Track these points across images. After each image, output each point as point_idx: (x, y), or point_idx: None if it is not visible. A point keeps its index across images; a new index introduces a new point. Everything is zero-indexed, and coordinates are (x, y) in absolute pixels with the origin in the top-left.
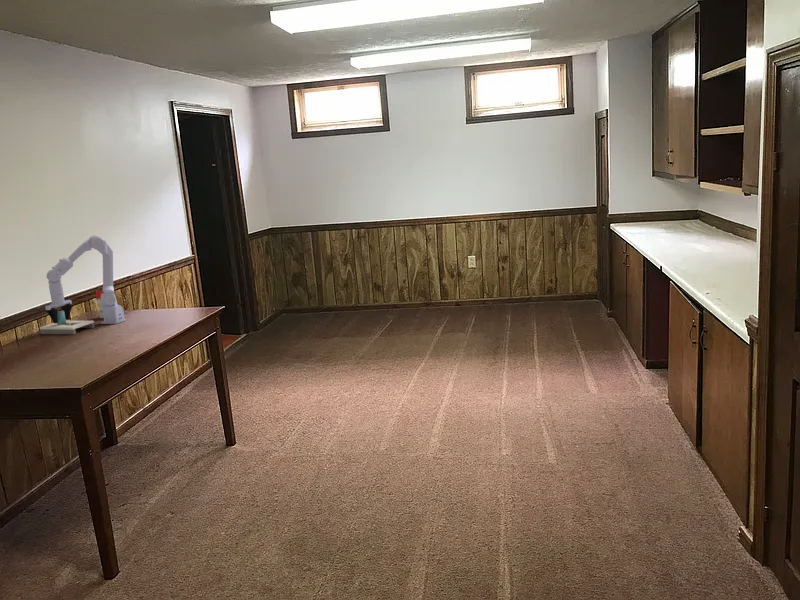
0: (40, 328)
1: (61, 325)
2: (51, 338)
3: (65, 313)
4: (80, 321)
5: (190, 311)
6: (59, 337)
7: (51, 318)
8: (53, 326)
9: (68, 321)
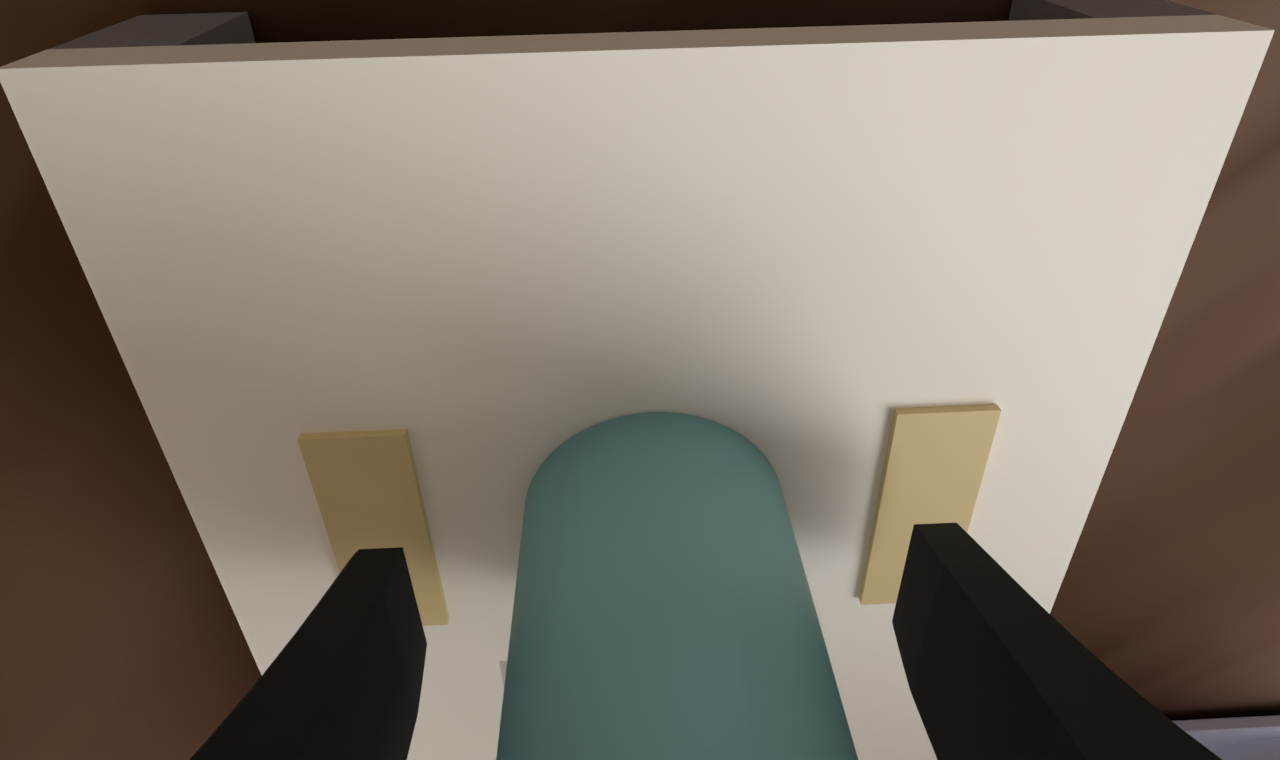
0: (38, 97)
1: (475, 640)
2: (23, 679)
3: (1015, 750)
4: (907, 746)
5: None
6: (148, 746)
7: (251, 699)
8: (316, 524)
9: (939, 503)
